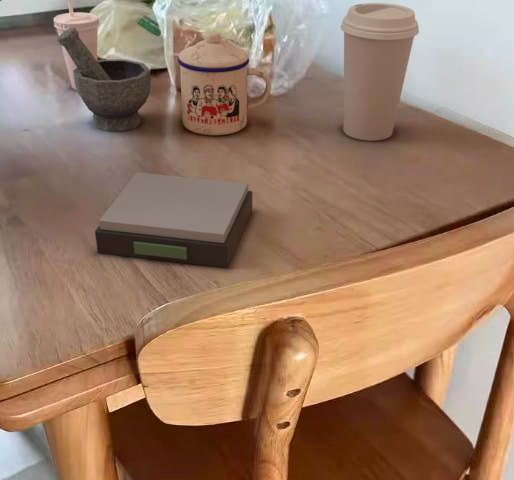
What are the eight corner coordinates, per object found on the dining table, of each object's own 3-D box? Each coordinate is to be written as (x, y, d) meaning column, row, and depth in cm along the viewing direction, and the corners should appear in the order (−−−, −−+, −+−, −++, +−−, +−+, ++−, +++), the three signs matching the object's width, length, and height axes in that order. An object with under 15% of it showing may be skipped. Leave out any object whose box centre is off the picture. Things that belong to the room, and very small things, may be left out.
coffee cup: (380, 115, 102) (395, -1, 93) (417, 139, 95) (437, 17, 86) (319, 123, 99) (328, 4, 90) (353, 149, 92) (366, 23, 83)
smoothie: (63, 80, 112) (49, -21, 103) (105, 78, 113) (95, -22, 104) (62, 94, 107) (47, -11, 98) (106, 92, 108) (95, -11, 99)
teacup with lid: (179, 137, 95) (174, 43, 88) (182, 112, 102) (178, 23, 95) (271, 137, 95) (274, 43, 88) (268, 112, 102) (270, 24, 95)
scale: (96, 254, 71) (92, 223, 69) (136, 199, 80) (134, 170, 78) (226, 270, 69) (226, 238, 67) (252, 211, 79) (252, 181, 77)
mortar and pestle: (154, 109, 102) (148, 18, 95) (152, 135, 95) (145, 38, 88) (73, 110, 102) (60, 18, 94) (65, 136, 94) (50, 38, 87)
